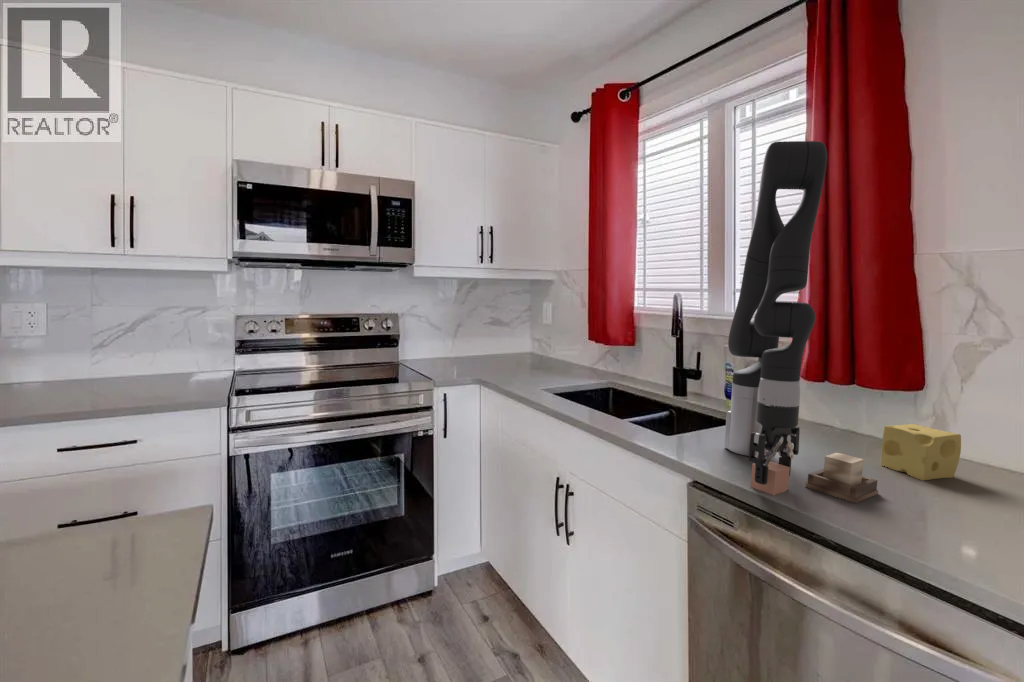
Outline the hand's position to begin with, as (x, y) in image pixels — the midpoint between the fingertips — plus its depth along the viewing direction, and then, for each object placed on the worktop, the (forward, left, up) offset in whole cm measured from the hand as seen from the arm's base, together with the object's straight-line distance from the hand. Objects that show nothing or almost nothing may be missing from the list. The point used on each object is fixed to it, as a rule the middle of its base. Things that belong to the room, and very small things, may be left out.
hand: (772, 479), depth 104 cm
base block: (+7, +13, -1) cm, 15 cm away
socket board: (+7, +13, -2) cm, 15 cm away
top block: (-1, 0, -2) cm, 2 cm away
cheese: (+10, +41, -2) cm, 42 cm away
